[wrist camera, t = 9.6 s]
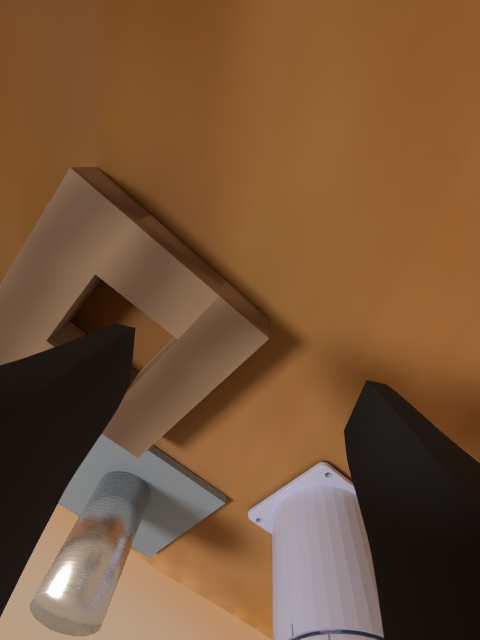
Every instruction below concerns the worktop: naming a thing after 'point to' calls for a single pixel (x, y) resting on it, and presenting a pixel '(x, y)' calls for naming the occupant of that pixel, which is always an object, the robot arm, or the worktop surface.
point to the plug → (92, 557)
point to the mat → (165, 492)
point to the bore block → (137, 287)
